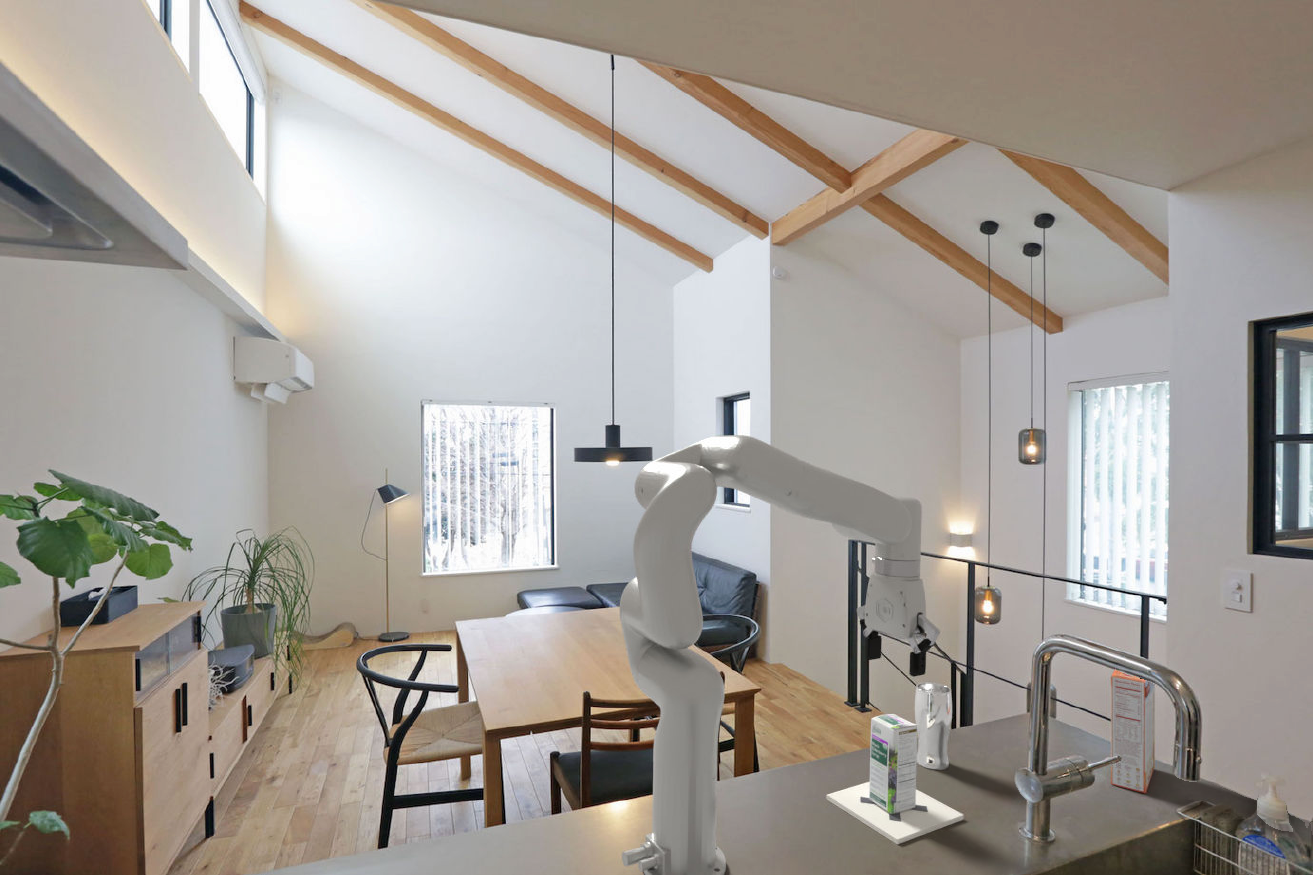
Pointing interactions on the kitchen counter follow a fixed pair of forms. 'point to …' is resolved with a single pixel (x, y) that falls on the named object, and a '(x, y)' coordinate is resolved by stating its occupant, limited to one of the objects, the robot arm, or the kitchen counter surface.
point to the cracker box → (1132, 731)
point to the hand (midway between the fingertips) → (894, 666)
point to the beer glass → (933, 724)
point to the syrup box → (893, 763)
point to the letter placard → (896, 825)
